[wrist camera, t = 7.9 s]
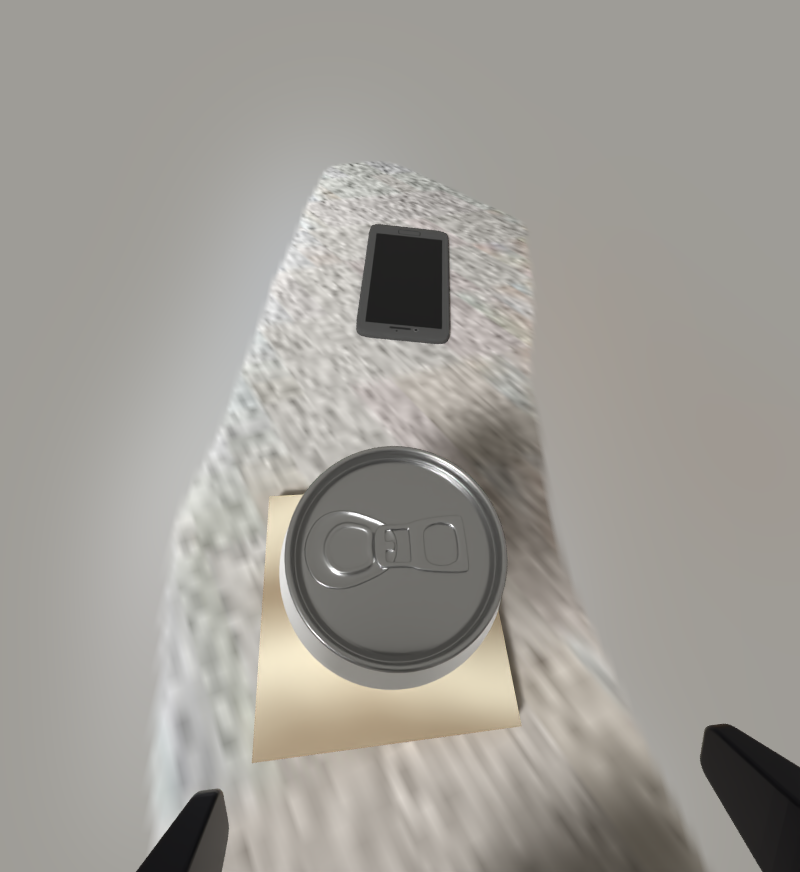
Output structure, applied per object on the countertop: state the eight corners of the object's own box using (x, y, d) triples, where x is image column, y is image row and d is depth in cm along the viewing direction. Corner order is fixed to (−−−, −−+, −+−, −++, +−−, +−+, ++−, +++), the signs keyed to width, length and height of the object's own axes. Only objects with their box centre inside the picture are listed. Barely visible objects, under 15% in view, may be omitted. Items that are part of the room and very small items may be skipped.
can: (317, 542, 22) (277, 433, 11) (434, 537, 22) (499, 430, 12) (312, 681, 19) (249, 709, 8) (448, 671, 19) (553, 685, 9)
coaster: (514, 723, 19) (521, 726, 18) (257, 757, 18) (252, 762, 17) (469, 490, 25) (473, 484, 24) (272, 502, 24) (269, 496, 23)
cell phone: (446, 238, 38) (448, 230, 37) (448, 348, 31) (450, 341, 31) (370, 229, 38) (370, 222, 37) (354, 339, 31) (354, 332, 30)
